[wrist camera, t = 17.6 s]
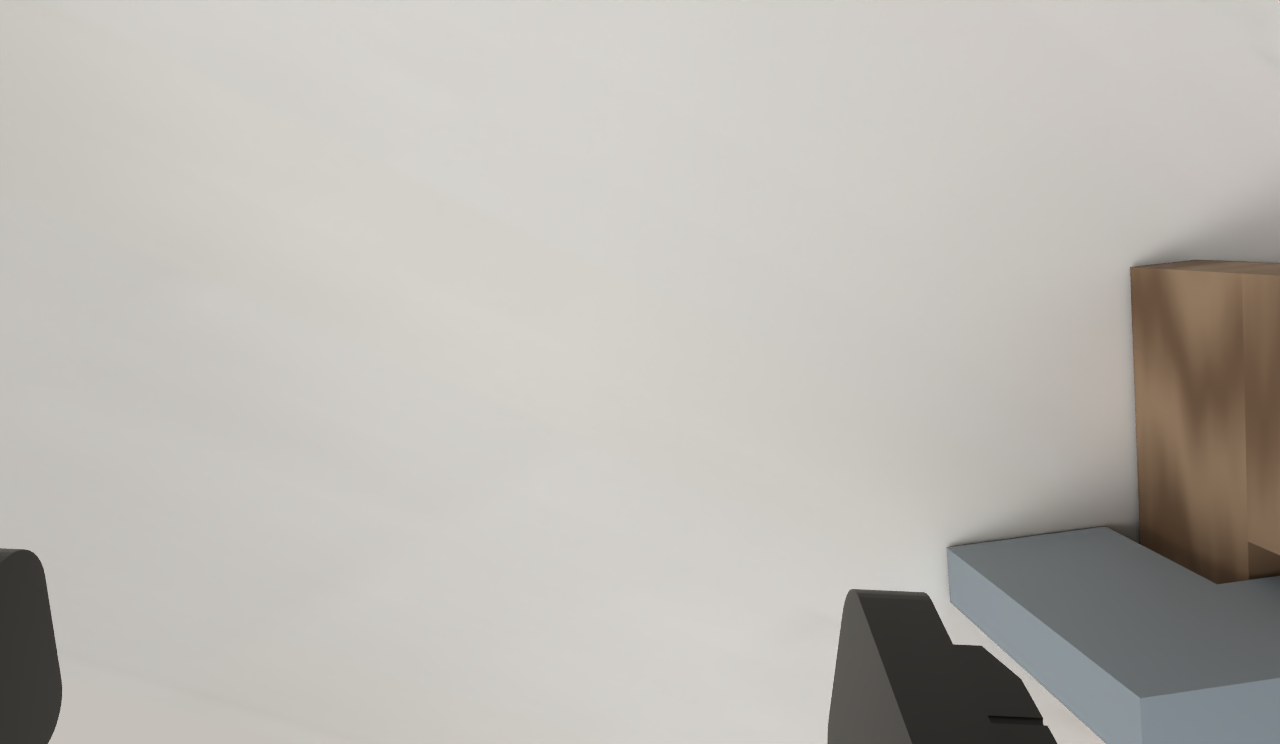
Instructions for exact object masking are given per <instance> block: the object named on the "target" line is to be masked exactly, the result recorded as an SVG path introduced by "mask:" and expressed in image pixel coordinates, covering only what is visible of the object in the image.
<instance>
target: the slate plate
mask: <svg viewBox="0 0 1280 744" xmlns="http://www.w3.org/2000/svg"><path fill="white" fill-rule="evenodd" d="M947 561H948V576H949V591H950V602H951V603H952V604H953V605H954V606H955V607H956V608H957V609H958V610H959V611H961V612H962V613H963V614H964V615H965V616H966V617H967V618H968V619H969V620H971V621H972V622H973V623H974V624H975V625H976V626H977V627H978V628H979V629H980V630H982V631H983V632H984V633H985V634H986V635H987V636H988V637H989V638H990V639H991V640H993V641H994V642H995V643H996V644H997V645H998V646H999V647H1000V648H1001V649H1003V650H1004V651H1005V652H1006V653H1007V654H1008V655H1009V656H1010V657H1011V658H1012V659H1014V660H1015V661H1016V662H1017V663H1018V664H1019V665H1020V666H1021V667H1022V668H1023V669H1025V670H1026V671H1027V672H1028V673H1029V674H1030V675H1031V676H1032V677H1033V678H1035V679H1036V680H1037V681H1038V682H1039V683H1040V684H1041V685H1042V686H1043V687H1044V688H1046V689H1047V690H1048V691H1049V692H1050V693H1051V694H1052V695H1053V696H1054V697H1055V698H1057V699H1058V700H1059V701H1060V702H1061V703H1062V704H1063V705H1064V706H1065V707H1067V708H1068V709H1069V710H1070V711H1071V712H1072V713H1073V714H1074V715H1075V716H1076V717H1078V718H1079V719H1080V720H1081V721H1082V722H1083V723H1084V724H1085V725H1086V726H1088V727H1089V728H1090V729H1091V730H1092V731H1093V732H1094V733H1095V734H1096V735H1097V736H1099V737H1100V738H1101V739H1102V740H1103V741H1104V742H1105V743H1106V744H1280V576H1274V577H1267V578H1260V579H1253V580H1245V581H1238V582H1231V583H1224V584H1215V583H1213V582H1211V581H1210V580H1208V579H1206V578H1204V577H1202V576H1200V575H1198V574H1196V573H1194V572H1192V571H1190V570H1188V569H1186V568H1185V567H1183V566H1181V565H1179V564H1177V563H1175V562H1173V561H1171V560H1169V559H1167V558H1165V557H1163V556H1162V555H1160V554H1158V553H1156V552H1154V551H1152V550H1150V549H1148V548H1146V547H1144V546H1142V545H1140V544H1138V543H1137V542H1135V541H1133V540H1131V539H1129V538H1127V537H1125V536H1123V535H1121V534H1119V533H1117V532H1115V531H1113V530H1112V529H1110V528H1108V527H1106V526H1104V527H1097V528H1089V529H1082V530H1074V531H1067V532H1059V533H1052V534H1044V535H1037V536H1029V537H1022V538H1014V539H1007V540H999V541H992V542H984V543H977V544H969V545H962V546H954V547H947Z"/></svg>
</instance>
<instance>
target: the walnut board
mask: <svg viewBox="0 0 1280 744" xmlns="http://www.w3.org/2000/svg"><path fill="white" fill-rule="evenodd" d="M1130 276H1131V303H1132V331H1133V358H1134V385H1135V412H1136V439H1137V466H1138V493H1139V520H1140V545H1142V546H1144V547H1146V548H1148V549H1150V550H1152V551H1154V552H1156V553H1158V554H1160V555H1162V556H1163V557H1165V558H1167V559H1169V560H1171V561H1173V562H1175V563H1177V564H1179V565H1181V566H1183V567H1185V568H1186V569H1188V570H1190V571H1192V572H1194V573H1196V574H1198V575H1200V576H1202V577H1204V578H1206V579H1208V580H1210V581H1211V582H1213V583H1215V584H1224V583H1231V582H1238V581H1245V580H1253V579H1260V578H1267V577H1274V576H1280V263H1264V262H1238V261H1213V260H1191V261H1182V262H1173V263H1164V264H1155V265H1146V266H1137V267H1130Z"/></svg>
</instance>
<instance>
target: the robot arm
mask: <svg viewBox="0 0 1280 744" xmlns="http://www.w3.org/2000/svg"><path fill="white" fill-rule="evenodd" d="M61 700H62V682H61V675H60V668H59V662H58V656H57V649H56V643H55V637H54V630H53V624H52V617H51V611H50V605H49V598H48V592H47V585H46V579H45V574H44V569H43V566H42V564H41V562H40V560H39V558H38V557H37V556H36V555H35V554H34V553H33V552H31V551H29V550H23V549H1V548H0V744H48V742H49V740H50V739H51V736H52V734H53V732H54V729H55V727H56V724H57V720H58V717H59V713H60V707H61ZM828 744H1057V742H1056V740H1055V739H1054V737H1053V735H1052V733H1051V731H1050V730H1049V728H1048V726H1043V717H1042V716H1041V714H1040V712H1039V710H1038V708H1037V707H1036V705H1035V703H1034V701H1033V700H1032V698H1031V696H1030V694H1029V692H1028V691H1027V689H1026V687H1025V685H1024V684H1023V682H1022V680H1021V679H1020V678H1019V677H1018V676H1017V675H1015V674H1014V673H1013V672H1012V671H1011V670H1009V669H1008V668H1007V667H1006V666H1005V665H1004V664H1002V663H1001V662H1000V661H999V660H998V659H996V658H995V657H994V656H993V655H992V654H991V653H989V652H988V651H987V650H986V649H985V648H983V647H982V646H973V645H953V644H952V642H951V639H950V637H949V635H948V633H947V631H946V629H945V627H944V625H943V623H942V621H941V619H940V617H939V615H938V613H937V611H936V609H935V607H934V605H933V603H932V600H931V599H930V597H929V596H928V595H927V594H926V593H924V592H904V591H882V590H860V589H851V590H850V591H849V592H848V594H847V597H846V600H845V604H844V608H843V615H842V622H841V630H840V638H839V645H838V653H837V660H836V668H835V676H834V683H833V691H832V698H831V706H830V714H829V723H828Z"/></svg>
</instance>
